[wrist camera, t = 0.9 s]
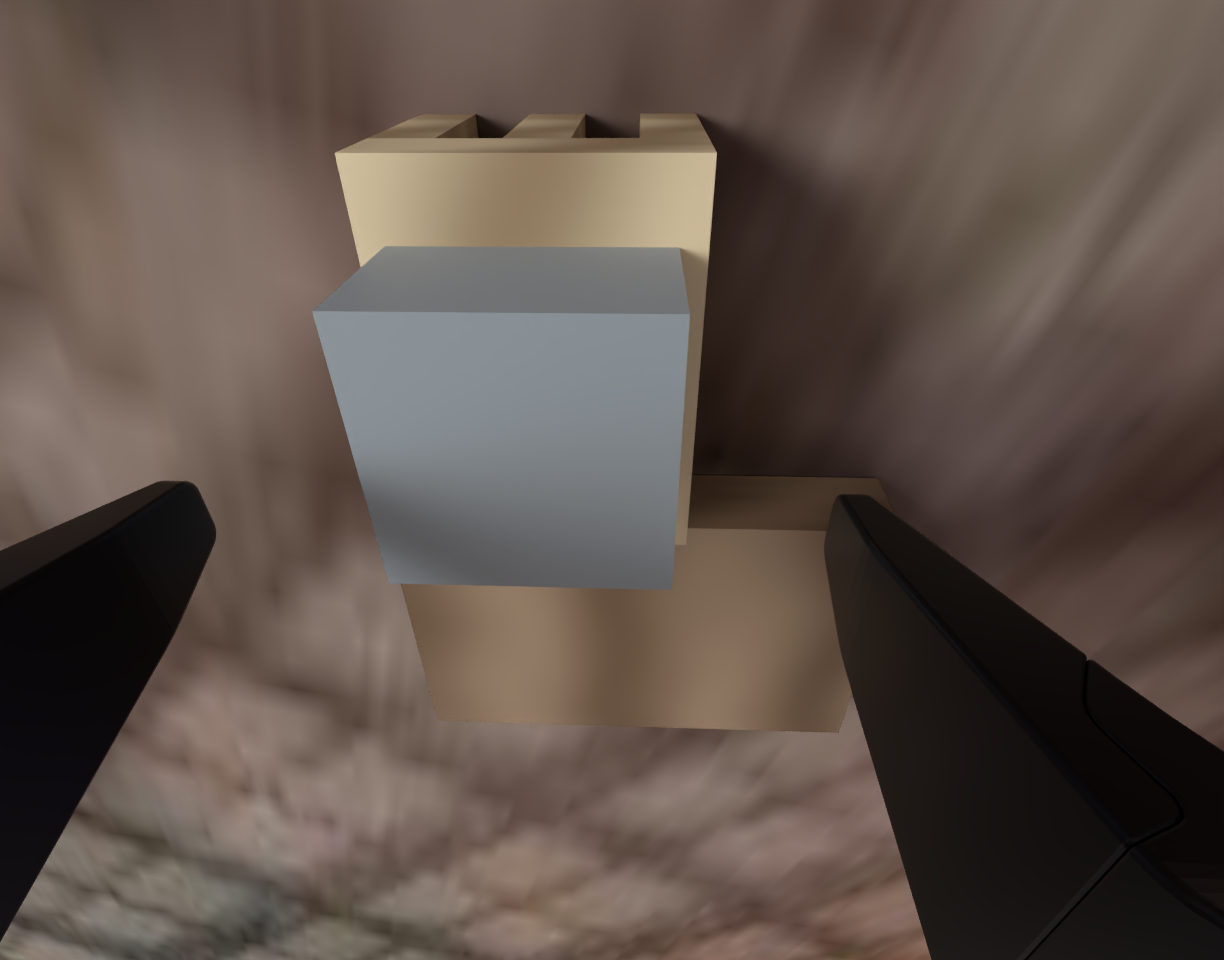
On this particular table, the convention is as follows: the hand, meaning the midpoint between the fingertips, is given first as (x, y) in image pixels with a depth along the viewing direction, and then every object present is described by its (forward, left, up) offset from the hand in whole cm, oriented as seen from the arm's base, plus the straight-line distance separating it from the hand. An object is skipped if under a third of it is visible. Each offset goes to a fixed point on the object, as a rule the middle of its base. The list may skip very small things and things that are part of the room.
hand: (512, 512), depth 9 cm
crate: (0, 0, -4) cm, 4 cm away
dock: (-2, +10, -9) cm, 14 cm away
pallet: (0, 0, -9) cm, 9 cm away
